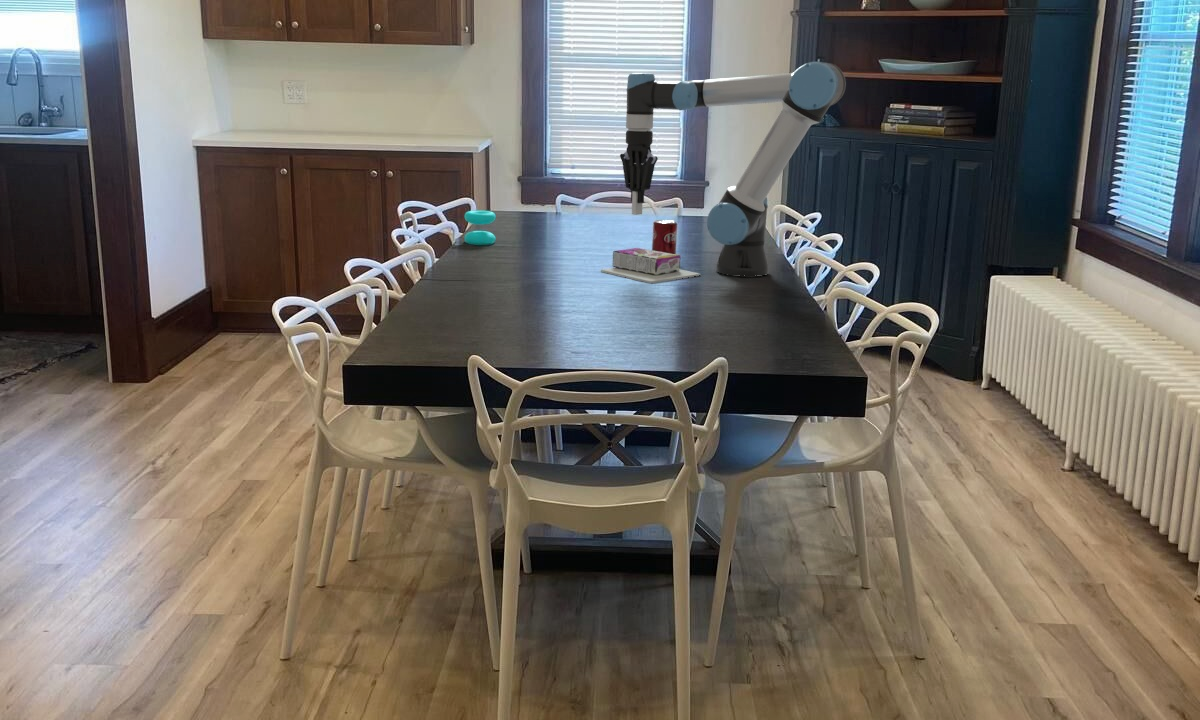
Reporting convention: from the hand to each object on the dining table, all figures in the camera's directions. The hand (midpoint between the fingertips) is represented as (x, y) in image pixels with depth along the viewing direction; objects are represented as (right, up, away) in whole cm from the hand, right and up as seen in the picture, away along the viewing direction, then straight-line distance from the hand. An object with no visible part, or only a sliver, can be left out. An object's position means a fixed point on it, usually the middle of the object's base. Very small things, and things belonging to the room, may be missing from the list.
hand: (636, 214), depth 319 cm
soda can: (+9, -12, +20) cm, 25 cm away
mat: (+4, -17, -1) cm, 17 cm away
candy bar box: (-4, -11, +7) cm, 14 cm away
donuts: (-49, -4, +40) cm, 64 cm away
